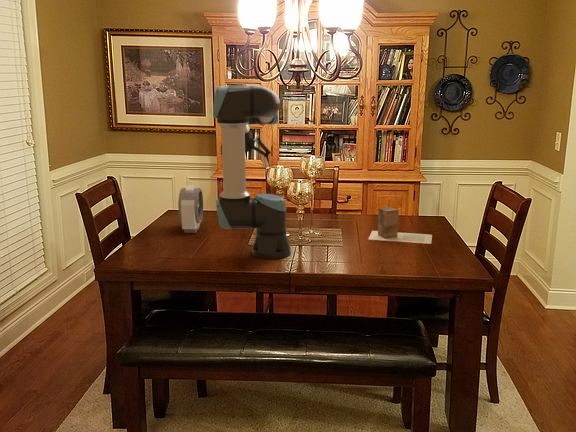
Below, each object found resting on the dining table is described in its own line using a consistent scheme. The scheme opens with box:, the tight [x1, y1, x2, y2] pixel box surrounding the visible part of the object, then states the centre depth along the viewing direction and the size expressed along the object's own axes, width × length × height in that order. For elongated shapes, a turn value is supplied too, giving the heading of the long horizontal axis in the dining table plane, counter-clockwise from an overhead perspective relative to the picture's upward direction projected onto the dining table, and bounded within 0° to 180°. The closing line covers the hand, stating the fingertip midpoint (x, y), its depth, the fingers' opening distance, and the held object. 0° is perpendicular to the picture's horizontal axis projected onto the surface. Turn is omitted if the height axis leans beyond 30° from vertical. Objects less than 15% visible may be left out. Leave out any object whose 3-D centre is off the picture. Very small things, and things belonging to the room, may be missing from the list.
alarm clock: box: [177, 184, 204, 234], centre depth 263 cm, size 18×8×20 cm, turn 179°
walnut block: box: [377, 206, 399, 239], centre depth 250 cm, size 6×6×12 cm
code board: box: [367, 230, 433, 245], centre depth 250 cm, size 14×26×1 cm, turn 75°
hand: (255, 175), depth 274 cm, fingers open, 13 cm apart
